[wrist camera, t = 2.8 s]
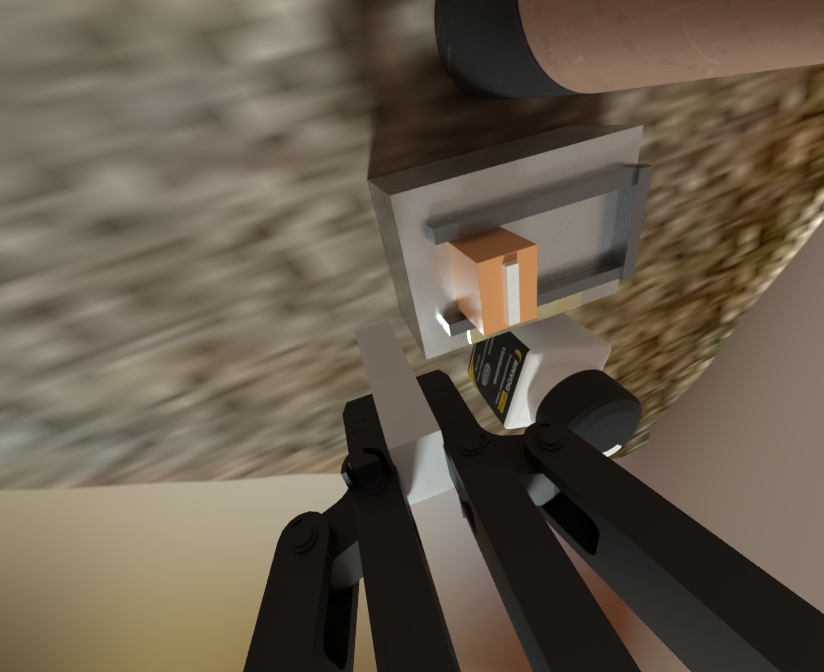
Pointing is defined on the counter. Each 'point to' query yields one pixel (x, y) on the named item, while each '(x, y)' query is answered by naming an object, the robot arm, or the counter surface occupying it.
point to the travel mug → (619, 42)
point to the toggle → (495, 278)
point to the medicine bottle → (555, 382)
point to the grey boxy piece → (515, 222)
